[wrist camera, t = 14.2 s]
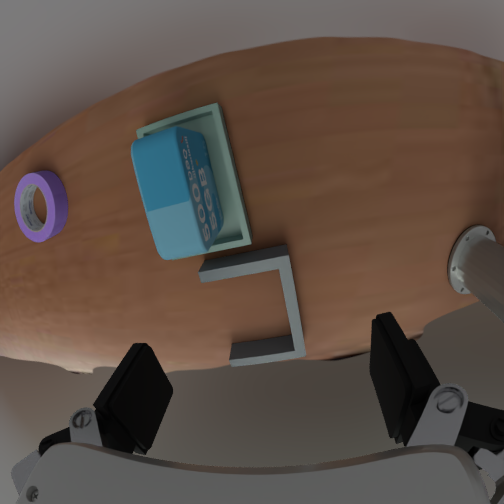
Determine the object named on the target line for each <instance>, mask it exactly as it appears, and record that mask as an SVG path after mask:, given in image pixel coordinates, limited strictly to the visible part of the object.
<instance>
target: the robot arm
mask: <svg viewBox="0 0 504 504" xmlns="http://www.w3.org/2000/svg"><path fill="white" fill-rule="evenodd" d="M448 278H449V282H450V284H451V286H452V287H453V289H455V290H456V291H457V292H458V293H460V294H469V293H472V294H473V295H475V296H476V297H477V298H478V299H479V300H480V301H481V302H482V303H483V304H485V305H486V306H487V307H488V308H489V309H490V310H491V311H492V312H493V313H494V314H495V315H496V316H497V317H498V318H499V319H500V320H501V321H502V322H503V323H504V246H502V245H500V244H498V243H497V242H496V240H495V236H494V234H493V232H492V231H491V230H490V229H489V228H487V227H485V226H483V225H474V226H472V227H470V228H468V229H467V230H466V231H464V232H463V234H462V235H461V236H460V237H459V239H458V240H457V242H456V243H455V245H454V247H453V249H452V252H451V255H450V259H449V263H448ZM370 375H371V378H372V381H373V384H374V387H375V390H376V393H377V396H378V400H379V403H380V406H381V410H382V413H383V416H384V419H385V423H386V426H387V430H388V434H389V437H390V438H395V442H396V444H398V443H401V442H403V444H404V446H405V447H404V448H398V449H393V450H388V451H384V452H379V453H374V454H370V455H364V456H359V457H355V458H349V459H343V460H337V461H330V462H323V463H316V464H308V465H297V466H285V467H257V468H256V467H255V468H253V467H252V468H251V467H248V468H247V467H244V468H243V467H218V466H204V465H194V464H186V463H178V462H171V461H165V460H159V459H153V458H148V457H143V456H139V455H134V454H132V453H133V451H134V452H136V453H139V454H143V455H146V453H147V451H148V450H149V449H150V448H151V447H152V444H153V441H154V439H155V436H156V434H157V431H158V429H159V426H160V424H161V421H162V419H163V416H164V414H165V412H166V409H167V407H168V404H169V402H170V399H171V397H172V394H173V387H172V385H171V384H170V382H169V380H168V378H167V376H166V374H165V373H164V371H163V369H162V367H161V365H160V363H159V361H158V359H157V358H156V356H155V354H154V352H153V350H152V348H151V347H150V346H148V344H146V343H134V344H133V345H132V346H131V348H130V349H129V351H128V352H127V354H126V355H125V357H124V358H123V360H122V361H121V363H120V364H119V366H118V367H117V369H116V370H115V372H114V373H113V375H112V376H111V378H110V379H109V381H108V382H107V384H106V385H105V387H104V389H103V390H102V391H101V393H100V395H99V396H98V398H97V399H96V401H95V402H94V404H93V406H94V407H95V408H96V410H95V411H94V410H92V409H91V408H81V409H79V410H77V411H76V412H75V413H73V415H72V416H71V418H70V421H69V427H68V428H66V429H63V430H61V431H59V432H56V433H54V434H51V435H49V436H47V437H45V438H44V439H43V440H42V441H41V443H40V445H39V451H38V450H35V451H34V452H32V453H31V454H30V455H28V456H27V457H25V458H24V459H23V460H21V461H20V462H19V463H17V464H16V465H15V466H14V467H13V469H12V472H11V475H12V479H13V481H14V484H15V486H16V489H17V491H18V494H19V498H18V500H17V502H16V504H504V410H499V409H495V408H491V407H488V406H483V405H480V404H476V403H473V402H469V401H468V395H467V393H466V391H465V390H464V389H463V388H462V387H461V386H459V385H456V384H451V383H447V384H443V385H440V383H439V381H438V379H437V377H436V375H435V374H434V372H433V370H432V368H431V366H430V365H429V363H428V361H427V360H426V358H425V356H424V354H423V353H422V351H421V349H420V347H419V346H418V344H417V343H416V341H415V340H414V339H410V340H407V338H406V336H405V335H404V333H403V331H402V329H401V328H400V326H399V324H398V323H397V321H396V319H395V318H394V316H393V315H392V313H391V312H387V313H382V314H378V315H377V316H376V319H373V320H372V334H371V353H370ZM480 469H484V470H485V471H486V472H488V473H489V474H488V476H489V477H490V478H492V479H493V481H494V482H495V484H496V489H495V494H494V495H493V497H492V498H491V500H490V499H489V496H488V492H487V489H486V486H485V483H484V481H483V478H482V476H481V474H480V471H479V470H480Z"/></svg>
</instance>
